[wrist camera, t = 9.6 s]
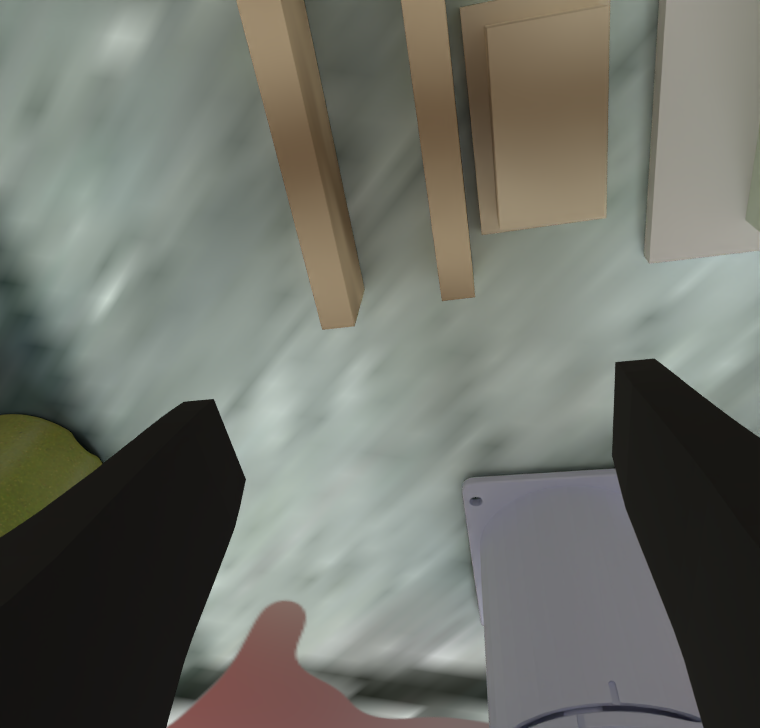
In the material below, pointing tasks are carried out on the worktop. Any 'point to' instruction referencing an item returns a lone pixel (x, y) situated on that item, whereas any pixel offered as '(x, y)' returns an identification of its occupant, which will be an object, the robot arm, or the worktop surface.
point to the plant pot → (36, 466)
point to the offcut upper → (549, 115)
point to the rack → (318, 156)
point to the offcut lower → (506, 6)
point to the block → (755, 191)
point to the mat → (703, 129)
